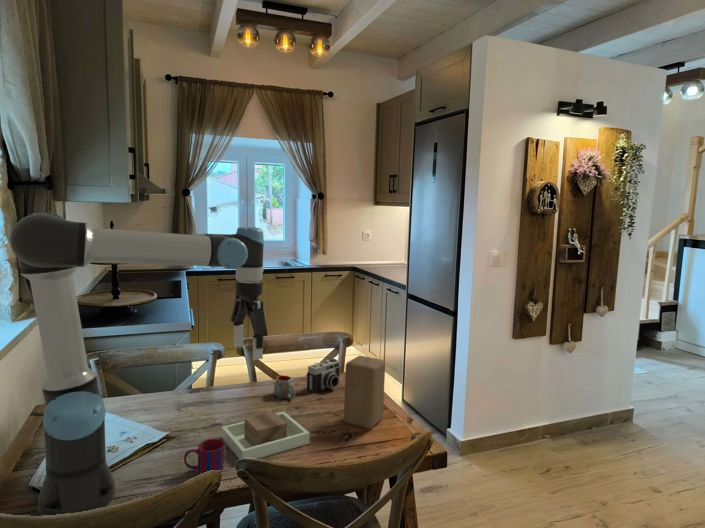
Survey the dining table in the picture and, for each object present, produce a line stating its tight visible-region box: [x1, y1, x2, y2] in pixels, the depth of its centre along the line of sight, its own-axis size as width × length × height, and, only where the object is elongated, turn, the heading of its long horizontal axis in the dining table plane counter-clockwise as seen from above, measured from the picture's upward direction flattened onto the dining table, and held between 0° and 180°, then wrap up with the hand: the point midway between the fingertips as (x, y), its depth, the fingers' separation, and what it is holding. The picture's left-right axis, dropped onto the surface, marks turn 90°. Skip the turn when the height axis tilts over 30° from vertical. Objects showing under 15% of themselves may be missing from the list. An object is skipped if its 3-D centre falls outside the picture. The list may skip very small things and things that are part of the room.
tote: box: [221, 411, 311, 460], centre depth 135 cm, size 20×16×4 cm
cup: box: [183, 438, 226, 475], centre depth 120 cm, size 7×10×7 cm
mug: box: [273, 374, 296, 401], centre depth 168 cm, size 12×7×7 cm, turn 32°
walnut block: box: [244, 411, 287, 447], centre depth 135 cm, size 9×9×6 cm
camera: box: [306, 358, 341, 394], centre depth 177 cm, size 14×9×10 cm, turn 130°
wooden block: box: [343, 355, 386, 430], centre depth 151 cm, size 10×10×20 cm
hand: (247, 352), depth 138 cm, fingers open, 13 cm apart
